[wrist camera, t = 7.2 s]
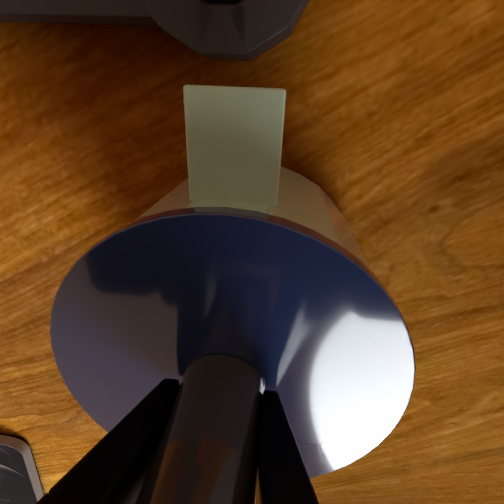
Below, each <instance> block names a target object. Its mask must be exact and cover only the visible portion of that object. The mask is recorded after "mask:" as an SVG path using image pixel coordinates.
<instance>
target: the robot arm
mask: <svg viewBox="0 0 504 504" xmlns="http://www.w3.org/2000/svg"><path fill="white" fill-rule="evenodd" d="M179 386H180V383H179V380H177V379H170V378H165V379H163V380H162V381H161V382H160V383H159V384H158V385H157V386H156V387H155V388H154V389H153V390H152V391H151V392H150V393H149V394H148V395H147V396H146V397H145V398H144V399H143V400H141V401H140V402H139V403H138V404H137V405H136V406H135V407H134V408H133V409H132V410H131V411H130V412H129V413H128V414H127V415H126V416H125V417H124V418H123V419H122V420H121V421H120V422H119V423H118V424H117V425H116V426H115V427H114V428H113V429H112V430H111V431H110V432H109V433H108V434H107V435H106V436H105V437H104V438H102V439H101V440H100V441H99V442H98V443H97V444H96V445H95V446H94V447H93V448H92V449H91V450H90V451H89V452H88V453H87V454H86V455H85V456H84V457H83V458H82V459H81V460H80V461H79V462H78V463H77V464H76V465H75V466H74V467H73V468H72V469H71V470H70V471H69V472H68V473H67V474H66V475H65V476H63V477H62V478H61V479H60V480H59V481H58V482H57V483H56V484H55V485H54V486H53V487H52V488H51V489H50V490H49V494H48V493H46V494H45V495H44V496H43V497H42V498H41V499H40V500H39V501H38V502H37V503H36V504H135V502H136V500H137V497H138V494H139V492H140V489H141V486H142V484H143V481H144V478H145V476H146V473H147V471H148V468H149V465H150V463H151V460H152V457H153V455H154V452H155V449H156V447H157V444H158V442H159V439H160V436H161V434H162V431H163V428H164V426H165V423H166V420H167V418H168V415H169V413H170V410H171V407H172V405H173V402H174V399H175V397H176V394H177V391H178V389H179ZM256 504H319V502H318V500H317V497H316V494H315V491H314V489H313V486H312V483H311V480H310V478H309V475H308V472H307V470H306V467H305V464H304V461H303V459H302V456H301V453H300V450H299V448H298V445H297V442H296V439H295V437H294V434H293V431H292V429H291V426H290V423H289V420H288V418H287V415H286V412H285V409H284V407H283V404H282V401H281V398H280V396H279V393H278V392H277V391H272V390H264V391H263V396H262V407H261V418H260V430H259V444H258V471H257V483H256Z"/></svg>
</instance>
